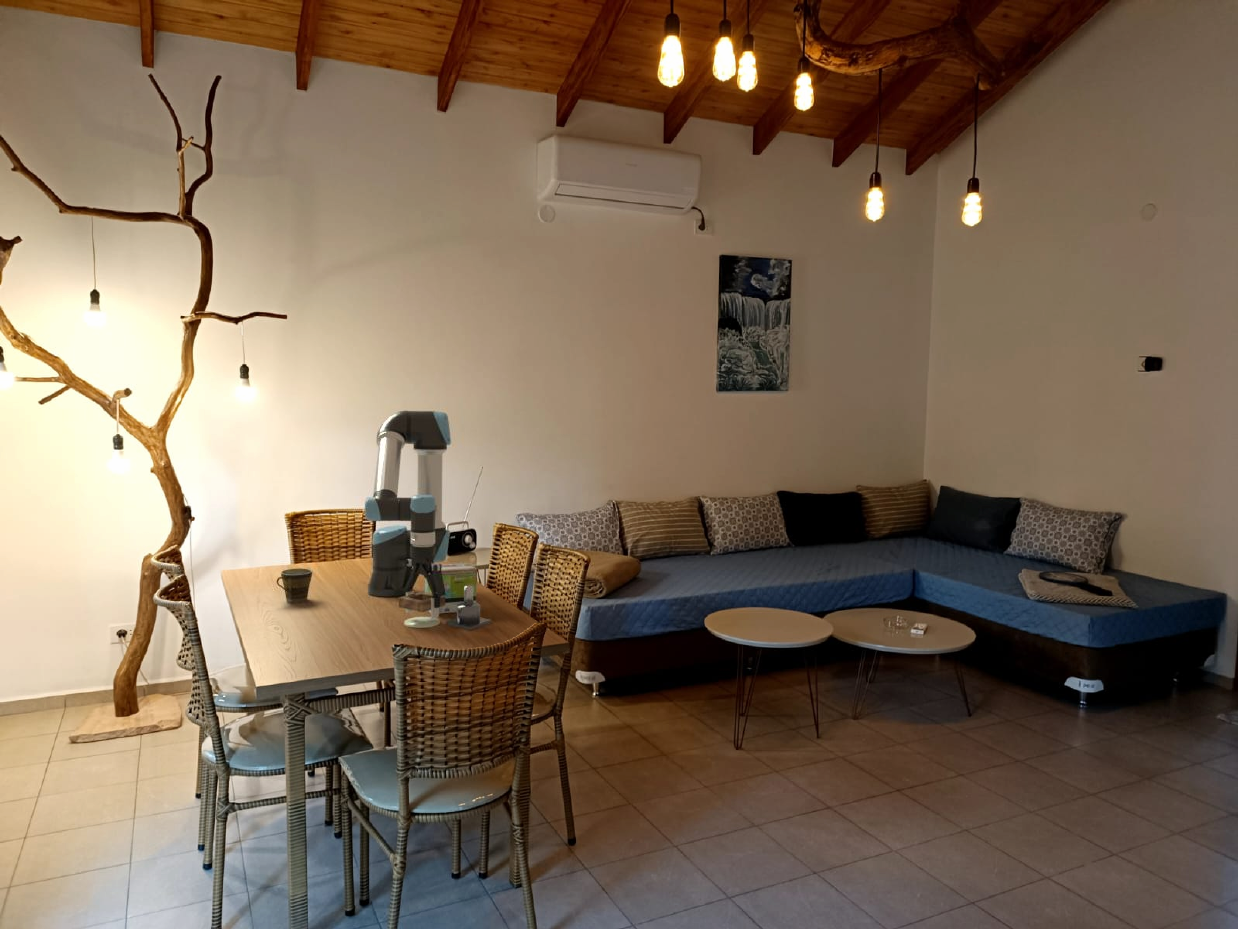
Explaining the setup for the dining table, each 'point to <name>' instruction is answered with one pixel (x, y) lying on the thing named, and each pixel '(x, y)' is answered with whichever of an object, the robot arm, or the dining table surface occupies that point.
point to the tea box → (456, 584)
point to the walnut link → (419, 601)
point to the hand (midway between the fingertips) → (422, 614)
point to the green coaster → (421, 622)
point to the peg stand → (468, 613)
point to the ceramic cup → (296, 584)
